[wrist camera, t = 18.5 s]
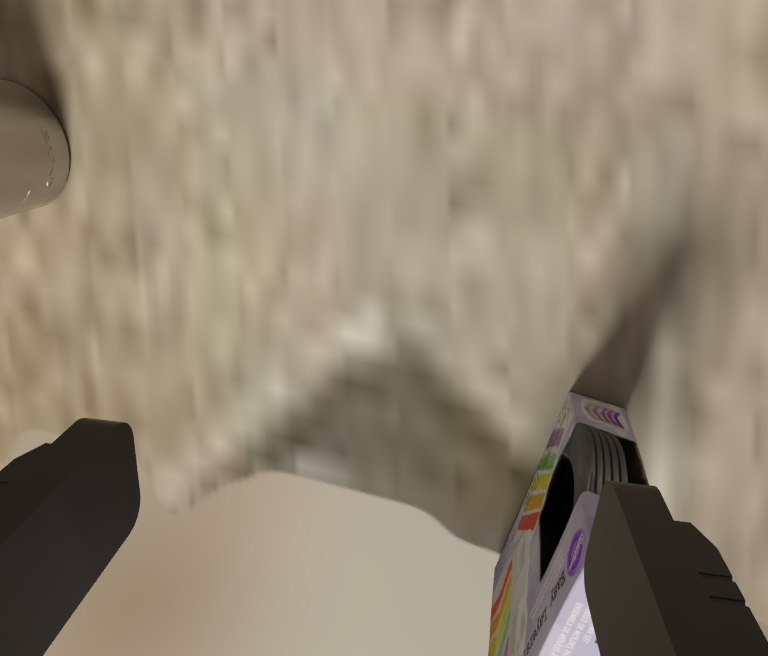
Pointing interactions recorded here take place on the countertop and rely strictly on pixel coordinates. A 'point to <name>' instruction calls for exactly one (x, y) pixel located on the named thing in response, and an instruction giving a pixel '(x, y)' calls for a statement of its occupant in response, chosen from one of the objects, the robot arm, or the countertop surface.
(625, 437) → the cake pan box
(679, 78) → the countertop surface
